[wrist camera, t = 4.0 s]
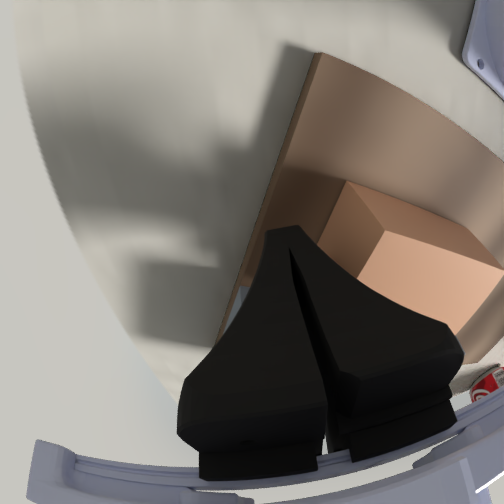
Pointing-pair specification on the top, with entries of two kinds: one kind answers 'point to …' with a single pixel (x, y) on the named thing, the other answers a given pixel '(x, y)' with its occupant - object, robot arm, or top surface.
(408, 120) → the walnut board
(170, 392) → the top surface
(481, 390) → the soda can
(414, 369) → the robot arm
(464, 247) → the tan rectangular block
